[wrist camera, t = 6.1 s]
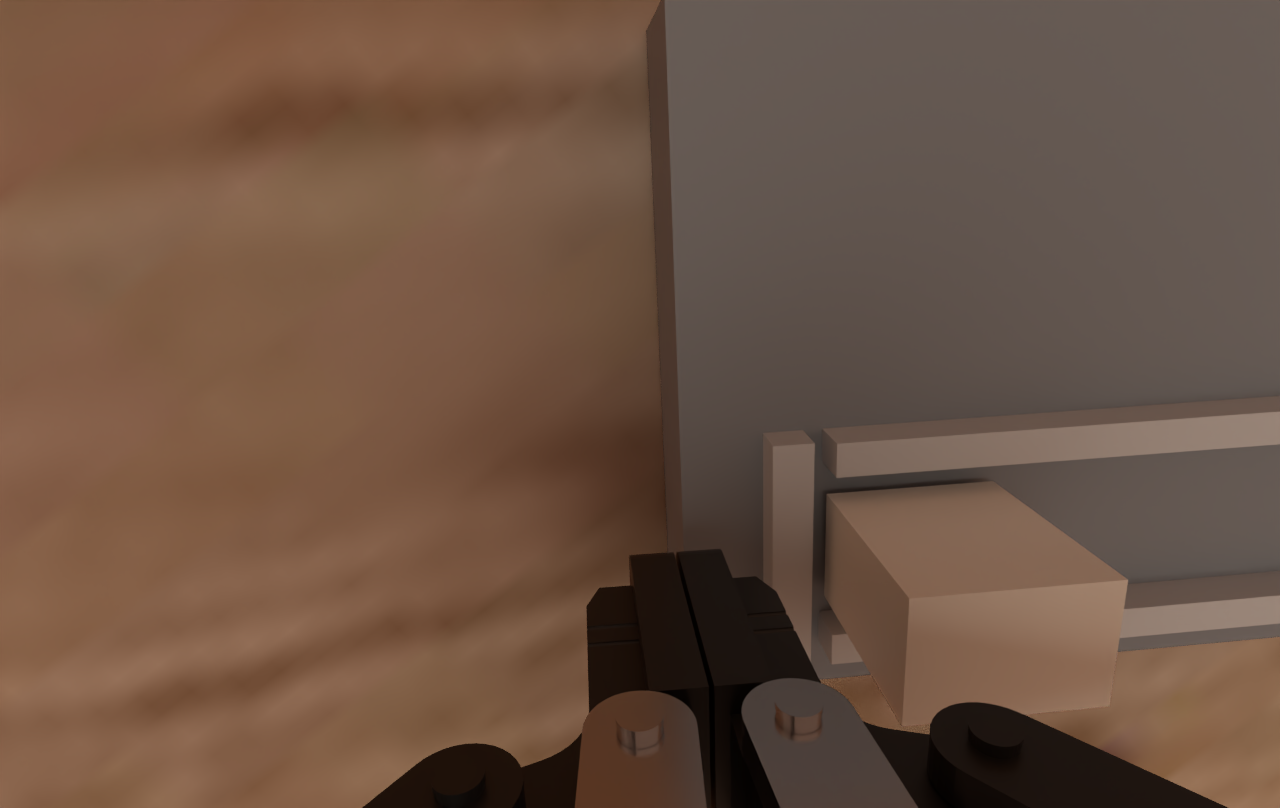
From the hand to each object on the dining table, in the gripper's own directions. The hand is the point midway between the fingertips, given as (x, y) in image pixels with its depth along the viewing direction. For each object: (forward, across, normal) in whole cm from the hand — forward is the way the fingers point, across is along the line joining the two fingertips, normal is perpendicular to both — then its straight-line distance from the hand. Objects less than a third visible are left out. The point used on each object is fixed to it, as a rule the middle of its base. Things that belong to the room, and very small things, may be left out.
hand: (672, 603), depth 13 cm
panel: (+4, -13, -3) cm, 14 cm away
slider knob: (+1, -4, 0) cm, 5 cm away
